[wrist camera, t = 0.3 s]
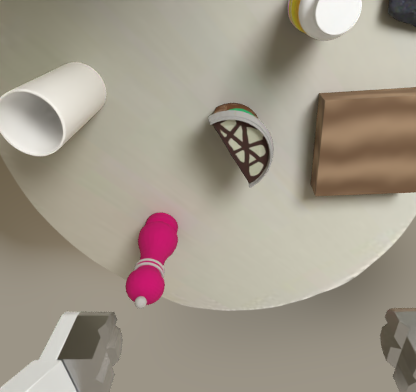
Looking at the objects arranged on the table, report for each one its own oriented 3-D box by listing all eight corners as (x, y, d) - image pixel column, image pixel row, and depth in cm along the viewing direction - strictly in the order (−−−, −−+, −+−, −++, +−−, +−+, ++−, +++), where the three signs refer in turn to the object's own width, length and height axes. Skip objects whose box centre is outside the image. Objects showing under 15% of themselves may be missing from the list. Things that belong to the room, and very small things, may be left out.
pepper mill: (159, 244, 70) (137, 328, 53) (136, 220, 67) (104, 301, 50) (187, 229, 67) (173, 312, 50) (164, 204, 64) (141, 282, 47)
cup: (74, 49, 50) (17, 73, 37) (117, 92, 53) (78, 128, 40) (44, 86, 54) (-19, 121, 40) (85, 124, 57) (40, 168, 43)
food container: (280, 144, 57) (290, 172, 48) (248, 161, 58) (251, 190, 50) (245, 78, 51) (249, 97, 43) (211, 99, 53) (207, 121, 45)
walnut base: (319, 93, 52) (325, 101, 48) (429, 86, 50) (443, 93, 47) (310, 184, 60) (315, 196, 57) (404, 180, 59) (415, 192, 55)
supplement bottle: (302, 42, 48) (324, 59, 37) (277, 0, 46) (292, 5, 35) (346, 8, 46) (383, 16, 35) (322, -38, 43) (353, -45, 32)
